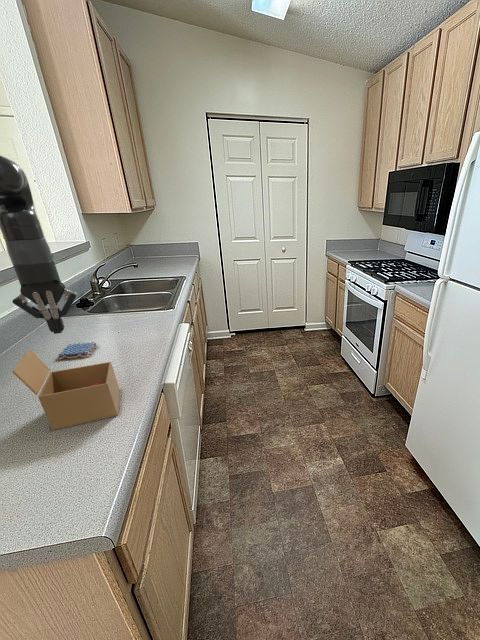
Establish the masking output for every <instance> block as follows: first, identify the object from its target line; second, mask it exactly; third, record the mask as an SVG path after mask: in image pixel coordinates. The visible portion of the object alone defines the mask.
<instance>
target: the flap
mask: <svg viewBox="0 0 480 640" xmlns="http://www.w3.org/2000/svg"><path fill="white" fill-rule="evenodd" d="M50 372H51V369H50V368H49V366H48V365H46V364H45V362H43V360H42V359H41V358H40V357H39V356H38V355H36V353H35V352H34V351H33V350H32V349H31V348H28V349H27V351H26V352H25V353H24V354H23V356H22V358H20V360H19V362H18V363H16V366H15V367H14V368H13V369H12V371H11V373H12V374H13V375H14V376H16V378H17V379H19V380H20V381H21V382H22V383H23V384H24V385H25V386H26V387H27V388H28V389H29V390H30V391H31V392H32V393H33V394H34V395H35V396H37V395H39V393H40V391H41V389H42V388H43V386H44V384H45V382H46V380H47V378H48V376H49V374H50Z"/></svg>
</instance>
